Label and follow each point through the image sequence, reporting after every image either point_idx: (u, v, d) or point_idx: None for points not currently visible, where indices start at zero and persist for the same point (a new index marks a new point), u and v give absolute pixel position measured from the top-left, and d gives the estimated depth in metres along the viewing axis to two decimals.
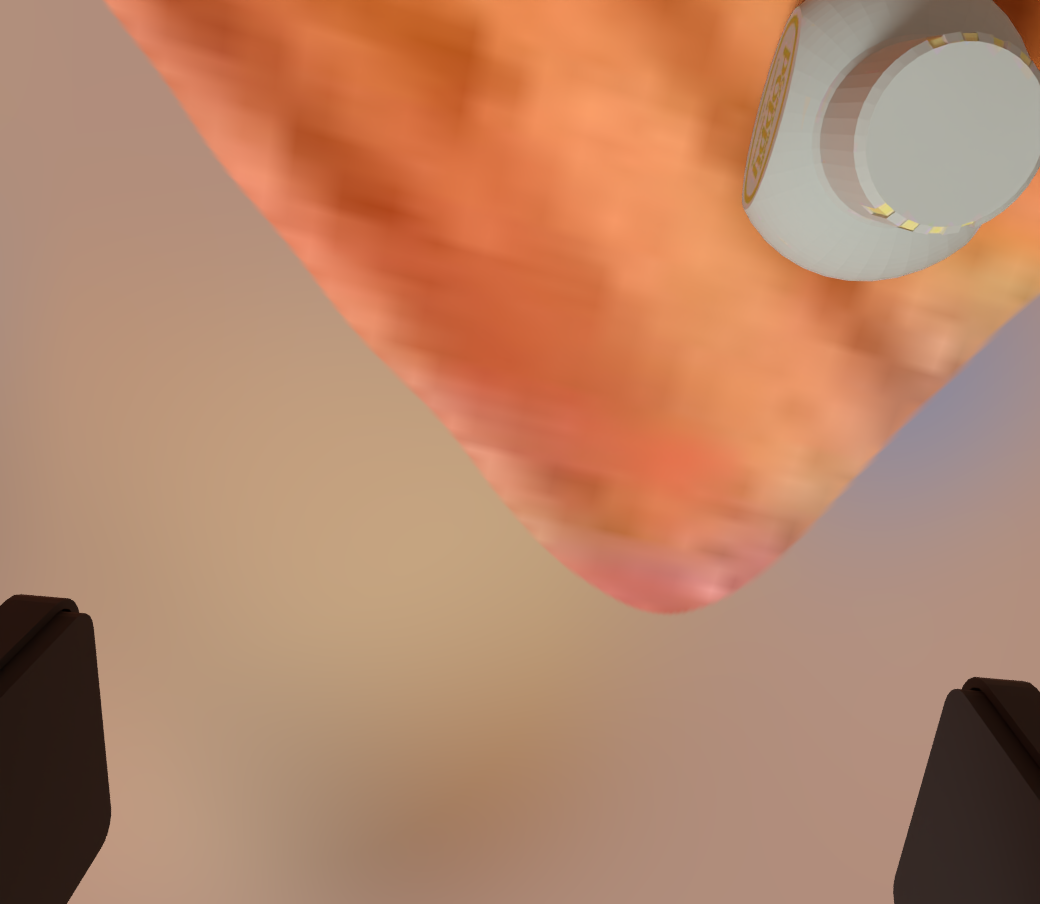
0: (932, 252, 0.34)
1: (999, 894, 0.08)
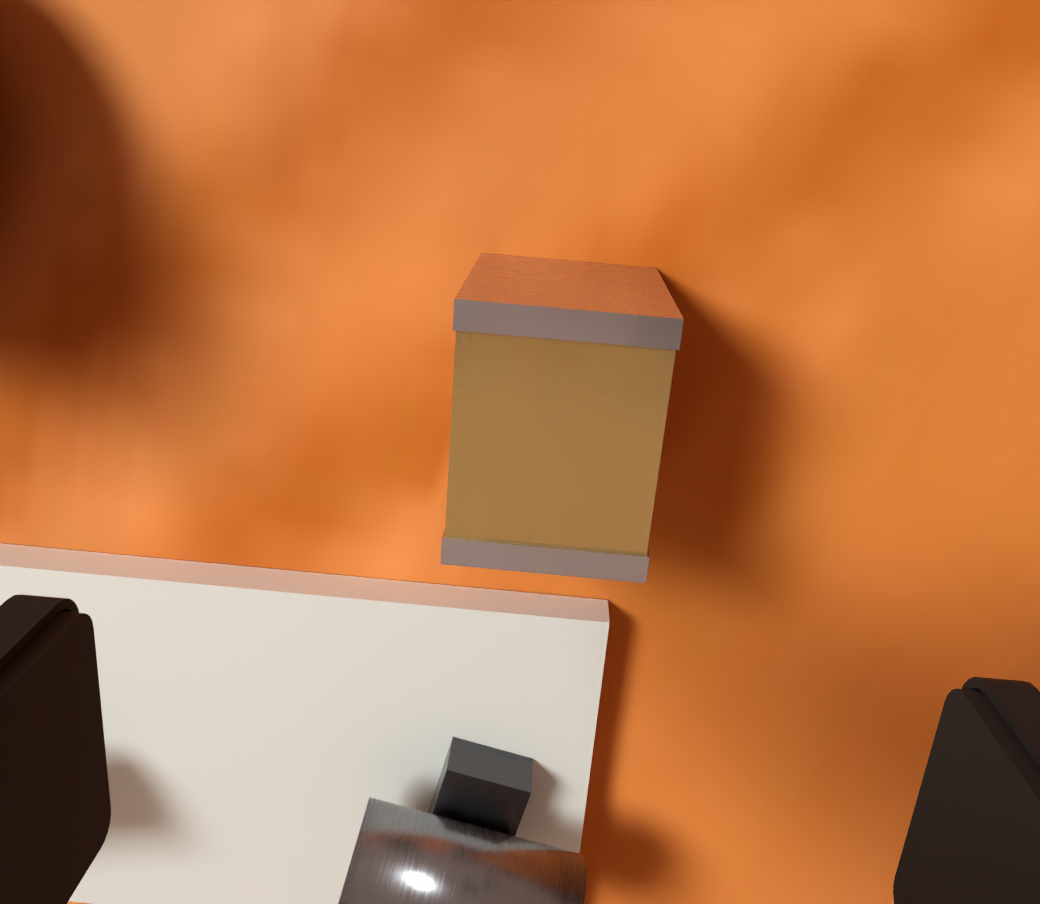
0: None
1: (999, 894, 0.08)
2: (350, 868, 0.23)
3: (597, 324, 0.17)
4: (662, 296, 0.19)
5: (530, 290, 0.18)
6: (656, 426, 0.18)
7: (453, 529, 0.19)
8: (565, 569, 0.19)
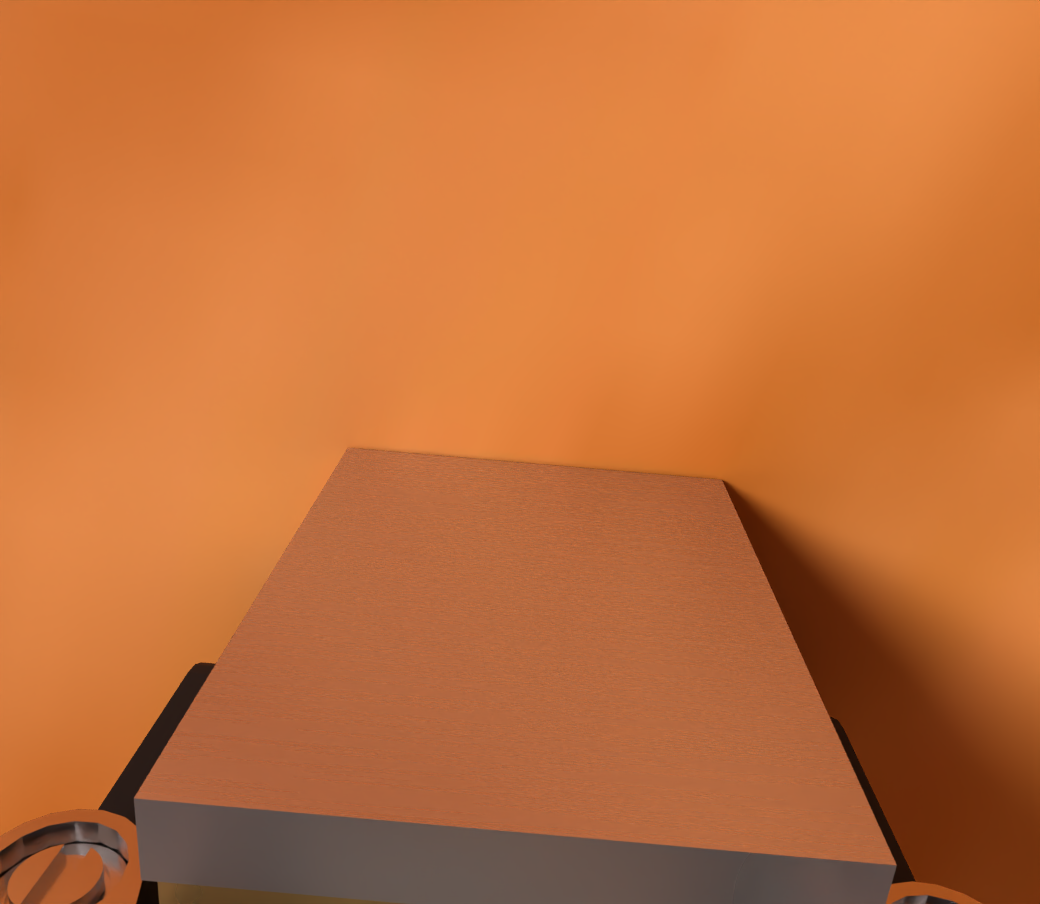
0: None
1: None
2: None
3: (608, 873, 0.05)
4: (776, 654, 0.07)
5: (414, 667, 0.07)
6: None
7: None
8: None
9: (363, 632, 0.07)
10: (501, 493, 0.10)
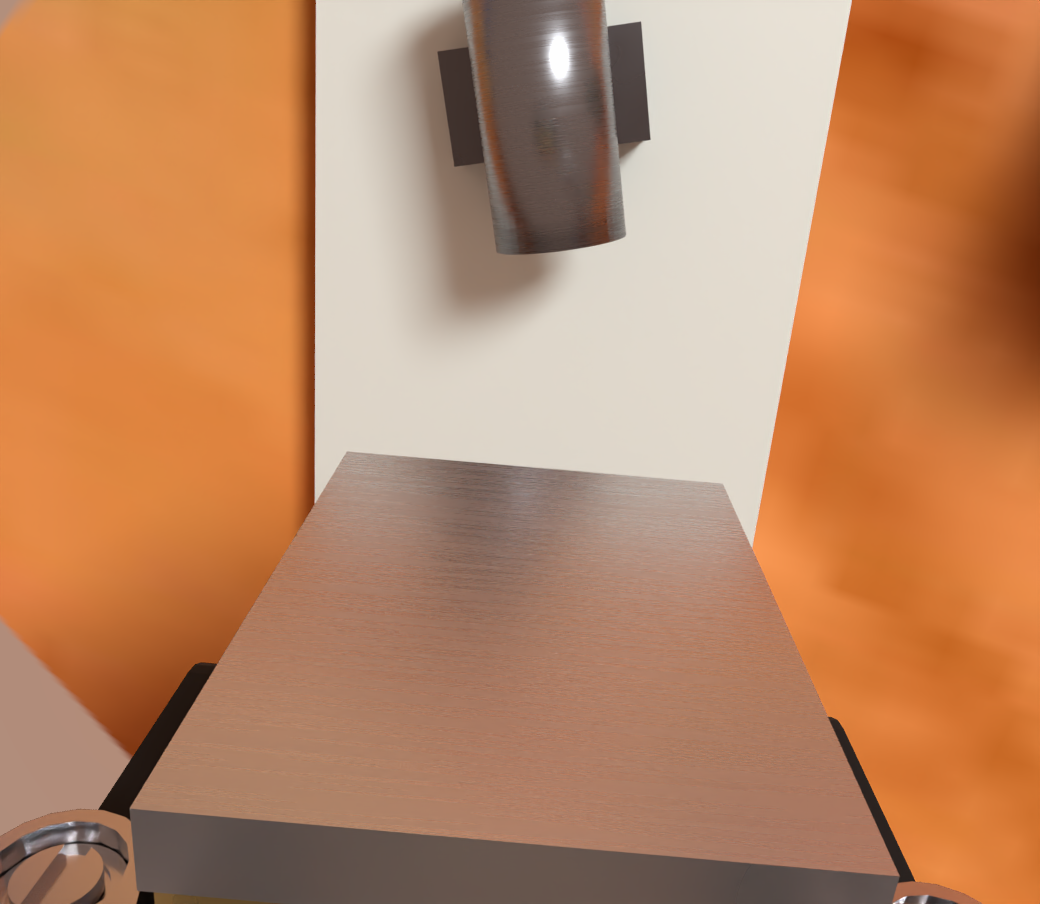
0: None
1: None
2: None
3: (608, 885, 0.05)
4: (777, 661, 0.07)
5: (412, 674, 0.07)
6: None
7: None
8: None
9: (361, 639, 0.07)
10: (501, 497, 0.10)
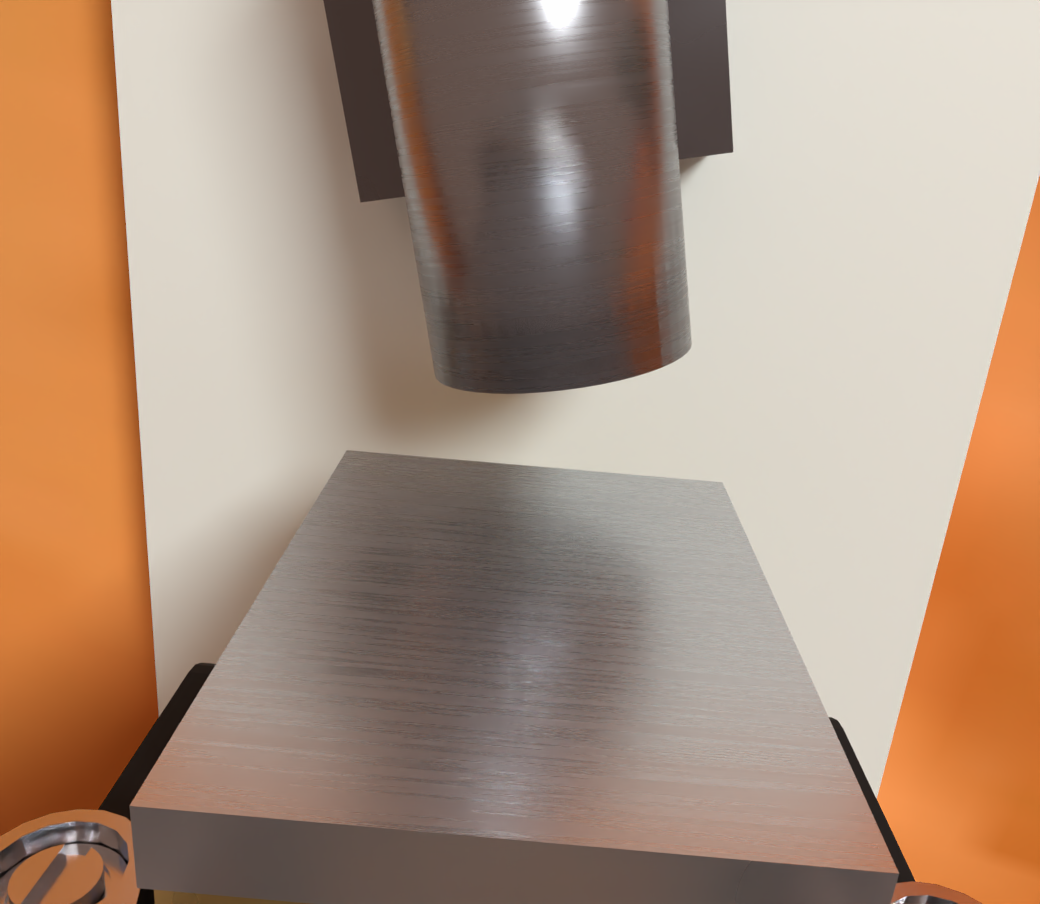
0: None
1: None
2: None
3: (608, 882, 0.05)
4: (777, 659, 0.07)
5: (412, 672, 0.07)
6: None
7: None
8: None
9: (361, 637, 0.07)
10: (500, 496, 0.10)
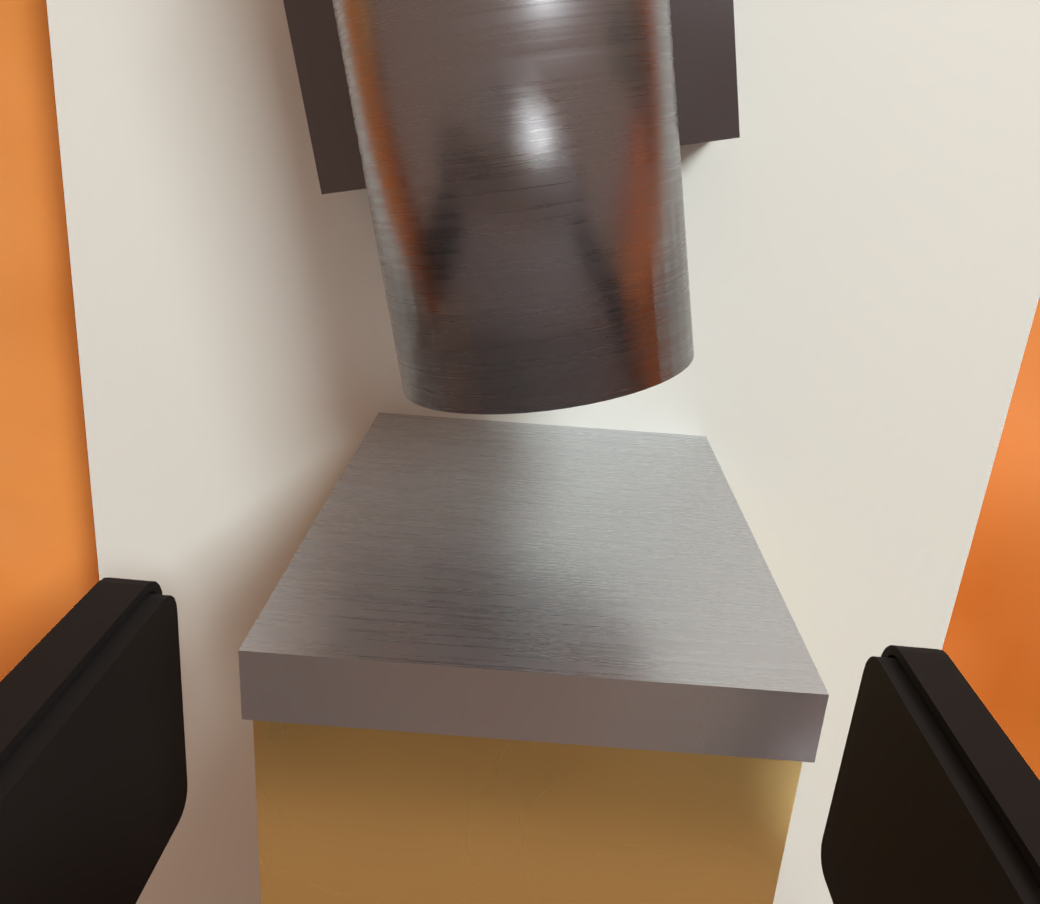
0: None
1: (903, 846, 0.09)
2: None
3: (606, 706, 0.07)
4: (744, 561, 0.09)
5: (447, 569, 0.08)
6: None
7: None
8: None
9: (404, 545, 0.08)
10: (513, 446, 0.11)
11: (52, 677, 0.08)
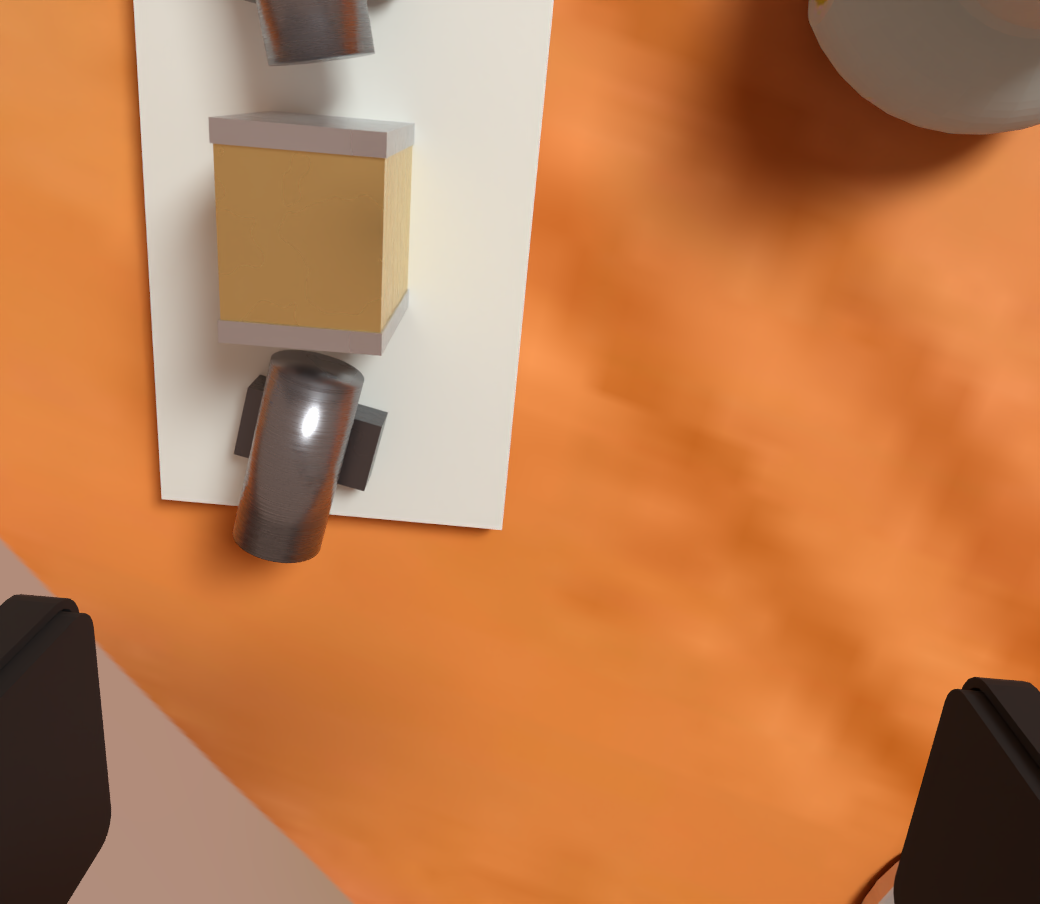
0: None
1: (999, 894, 0.08)
2: (332, 388, 0.26)
3: (320, 137, 0.22)
4: (391, 128, 0.24)
5: (281, 120, 0.23)
6: (376, 223, 0.23)
7: (226, 313, 0.24)
8: (316, 345, 0.24)
9: (267, 117, 0.24)
10: (325, 117, 0.26)
11: None
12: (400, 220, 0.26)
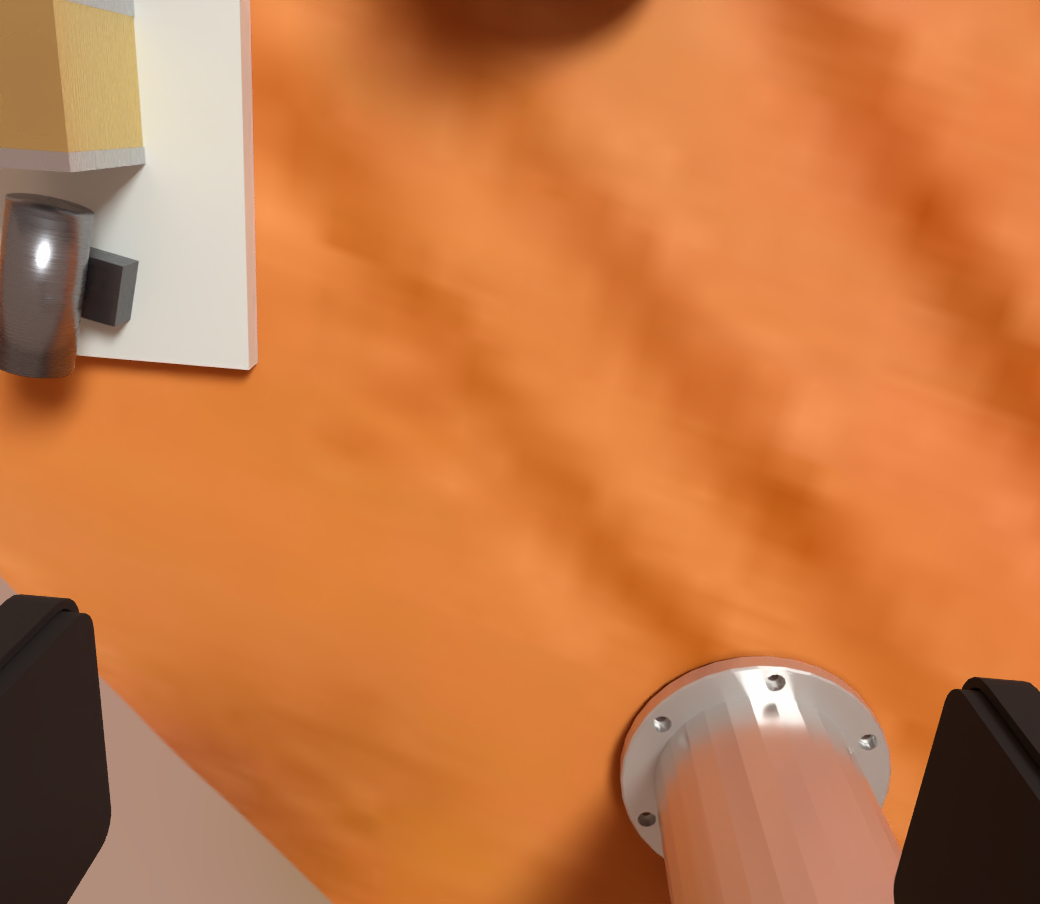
0: None
1: (999, 894, 0.08)
2: (52, 215, 0.31)
3: None
4: None
5: None
6: (52, 54, 0.28)
7: None
8: (16, 163, 0.29)
9: None
10: None
11: None
12: (109, 73, 0.31)
